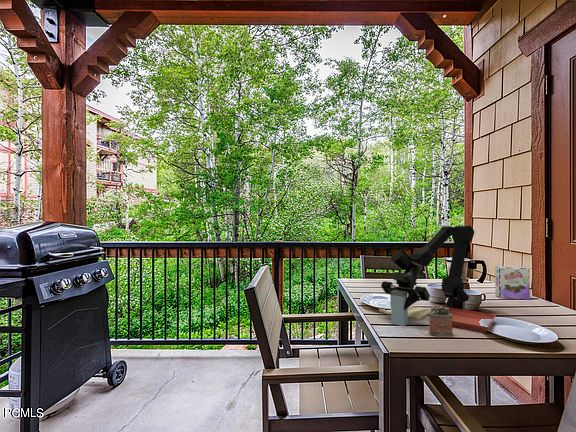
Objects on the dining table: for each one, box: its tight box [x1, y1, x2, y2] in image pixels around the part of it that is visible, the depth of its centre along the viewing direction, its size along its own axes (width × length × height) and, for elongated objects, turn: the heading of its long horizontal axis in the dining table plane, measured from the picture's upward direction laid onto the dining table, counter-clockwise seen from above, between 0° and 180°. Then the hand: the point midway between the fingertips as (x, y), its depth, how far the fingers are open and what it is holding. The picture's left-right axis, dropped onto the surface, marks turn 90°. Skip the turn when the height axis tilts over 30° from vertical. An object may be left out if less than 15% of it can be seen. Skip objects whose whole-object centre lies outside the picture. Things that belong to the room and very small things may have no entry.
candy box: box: [494, 265, 531, 301], centre depth 162 cm, size 14×6×16 cm, turn 73°
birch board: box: [378, 305, 434, 321], centre depth 138 cm, size 18×16×1 cm
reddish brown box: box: [428, 305, 454, 337], centre depth 111 cm, size 8×3×10 cm, turn 84°
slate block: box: [390, 290, 409, 327], centre depth 123 cm, size 5×4×13 cm
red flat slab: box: [445, 306, 497, 333], centre depth 123 cm, size 18×18×3 cm
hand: (397, 307), depth 122 cm, fingers closed on slate block, 5 cm apart
